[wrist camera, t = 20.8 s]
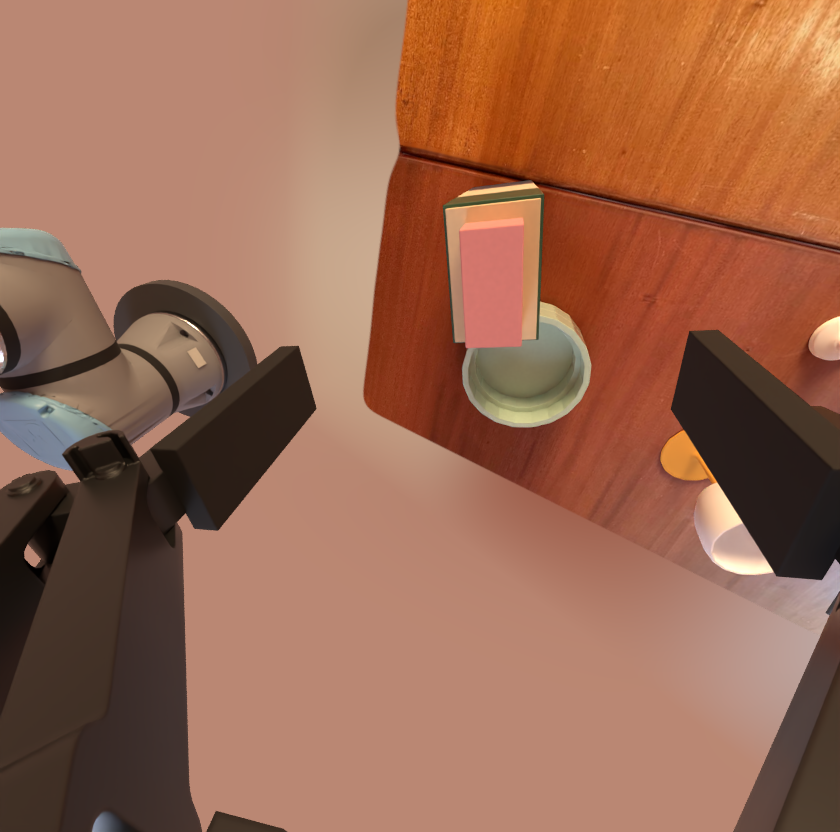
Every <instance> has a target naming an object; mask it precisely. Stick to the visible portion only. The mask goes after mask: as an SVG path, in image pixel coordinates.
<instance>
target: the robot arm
mask: <svg viewBox="0 0 840 832" xmlns="http://www.w3.org/2000/svg"><path fill="white" fill-rule="evenodd" d="M227 377H228V372H227V365H226V361H225V358H224V356H223V353H222V351H221V349H220V348H219V346H218V344H217V343H216V342H215V340H214V339H213V338H212V336H211V335H210V334H209V333H208V332H207V331H206V330H205V329H204V328H203V327H201V326H200V325H199V324H198V323H196V322H195V321H193V320H192V319H190V318H188V317H186V316H184V315H182V314H179V313H176V312H172V311H155V312H152V313H150V314H147V315H145V316H143V317H141V318H139V319H138V320H137V321H135V322H134V323H133V324H132V325H131V326H130V327H129V328H128V330H127V331H126V332H125V333H124V334H123V335H122V336H121V337H120V339H119V340H118V341H117V342H116V340H115V338H114V336H113V334H112V332H111V330H110V328H109V326H108V324H107V323H106V321H105V319H104V317H103V315H102V313H101V311H100V309H99V308H98V305H97V304H96V302H95V300H94V298H93V296H92V294H91V292H90V291H89V289H88V287H87V285H86V283H85V281H84V279H83V277H82V275H81V270H80V269H79V268H78V266H77V265H75V264H74V263H73V261H72V259H71V257H70V256H69V254H68V252H67V251H66V249H65V247H64V246H63V244H62V243H61V242H60V241H59V240H58V239H57V238H55V237H54V236H53V235H51V234H49V233H47V232H45V231H41V230H36V229H25V228H0V387H1V388H2V389H3V391H4V392H3V393H1V394H0V431H1V432H2V434H3V435H5V436H6V437H7V438H8V439H9V440H10V441H11V442H12V443H13V444H15V445H16V446H17V447H19V448H20V449H22V450H23V451H25V452H26V453H28V454H29V455H31V456H33V457H34V458H36V459H38V460H41V461H43V462H45V463H47V464H49V465H52V466H55V467H58V468H61V469H65V470H71V471H74V473H75V474H76V475H77V477H78V478H79V480H80V482H78V483H72V484H67V485H65V484H64V483H63V482H62V480H61V479H60V478H59V476H58V475H57V473H56V472H55V471H50V470H47V471H40V472H36V473H33V474H26V475H24V476H22V477H19V478H17V479H15V480H13V481H12V482H11V483H10V484H8V485H6V486H5V487H3V488H2V489H1V490H0V832H202V829H201V824H200V820H199V817H198V815H197V812H196V809H195V807H194V804H193V802H192V798H191V793H190V786H189V765H188V763H189V761H188V725H187V691H186V653H185V617H184V584H183V583H184V580H183V543H182V531H181V529H180V527H179V525H178V524H177V521H179V519H180V518H181V517H182V516H183V515H184V514H185V513H186V514H187V516H188V518H189V520H190V521H191V523H192V525H193V527H194V528H195V529H204V530H219V529H220V527H221V526H222V525H223V524H224V523H225V521H226V520H227V519H228V518H229V516H230V515H231V514H232V513H233V512H234V510H235V509H236V508H237V507H238V505H239V504H240V503H241V501H242V500H243V499H244V498H245V497H246V495H247V494H248V493H249V492H250V490H251V489H252V488H253V487H254V485H255V484H256V483H257V482H258V480H259V479H260V478H261V477H262V475H263V474H264V473H265V472H266V471H267V469H268V468H269V467H270V465H271V464H272V463H273V462H274V461H275V459H276V458H277V457H278V456H279V455H280V453H281V452H282V451H283V450H284V448H285V447H286V446H287V445H288V443H289V442H290V441H291V440H292V438H293V437H294V436H295V435H296V433H297V432H298V431H299V430H300V429H301V427H302V426H303V425H304V424H305V422H306V421H307V420H308V418H309V417H310V416H311V415H312V414H313V413H314V411H315V410H316V405H315V401H314V398H313V395H312V391H311V387H310V384H309V381H308V377H307V373H306V370H305V366H304V363H303V359H302V356H301V352H300V349H299V346H286V347H285V346H283V347H279V348H278V349H277V350H276V351H274V352H273V353H272V354H271V355H269V356H268V357H267V358H265V359H264V360H263V361H262V362H260V363H259V364H258V365H256V366H255V367H254V368H253V369H251V370H250V371H249V372H247V373H246V374H245V375H244V376H242V377H241V378H240V379H239V380H237V381H236V382H235V383H233V384H232V385H231V386H230V387H228V388H227V389H226V390H224V388H225V386H226V383H227ZM223 390H224V391H223ZM222 391H223V392H222ZM221 392H222V393H221ZM220 393H221V394H220ZM211 400H212V401H211ZM208 402H209V403H208ZM206 403H208V404H207V405H205V406H204V407H203V408H201V409H200V410H199V411H198V412H196V413H195V414H194V415H193V416H191V417H190V418H189V419H187V420H186V421H185V422H184V423H182V424H181V425H180V426H178V427H177V428H176V429H175V430H173V431H172V432H171V433H170V434H168V435H167V436H166V437H164V438H163V439H162V440H161V441H159V442H158V443H157V444H155V445H154V446H153V447H152V448H151V449H150V450H148V451H147V452H146V453H145V454H143V455H142V456H141V457H138V456H137V454H136V452H135V451H134V449H133V447H132V446H131V445H132V444H133V443H135V442H136V441H137V440H139V439H140V438H141V437H143V436H144V435H145V434H146V433H148V432H149V431H151V430H152V429H153V428H155V427H156V426H157V425H159V424H160V423H161V422H163V421H164V420H165V419H167V418H168V417H169V416H171V415H172V414H173V413H175V412H179V411H182V410H186V409H189V408H193V407H196V406H200V405H203V404H206ZM671 410H672V412H673V413H674V415H675V417H676V418H677V420H678V421H679V423H680V424H681V426H682V428H683V429H684V431H685V432H686V434H687V435H688V437H689V439H690V440H691V442H692V443H693V445H694V447H695V448H696V450H697V451H698V453H699V454H700V456H701V458H702V459H703V461H704V462H705V464H706V466H707V467H708V469H709V470H710V472H711V473H712V475H713V477H714V478H715V480H716V481H717V483H718V485H719V486H720V488H721V489H722V491H723V492H724V494H725V496H726V497H727V499H728V500H729V502H730V503H731V505H732V507H733V508H734V510H735V511H736V513H737V515H738V516H739V518H740V519H741V521H742V522H743V524H744V526H745V527H746V529H747V530H748V532H749V534H750V535H751V537H752V538H753V540H754V541H755V543H756V545H757V546H758V548H759V549H760V551H761V553H762V554H763V556H764V557H765V559H766V560H767V562H768V564H769V565H770V567H771V568H772V570H773V571H774V573H775V575H776V576H779V577H791V578H803V579H816V580H822V579H823V578H824V576H825V575H826V573H827V571H828V570H829V568H830V566H831V565H832V563H833V562H834V560H835V559H836V560H837V561H838V562H839V564H840V414H837V413H835V412H833V411H831V410H829V409H826V408H824V407H822V406H810V405H809V404H808V403H806V402H805V401H804V400H803V399H801V398H800V397H799V396H798V395H797V394H795V393H794V392H793V391H792V390H790V389H789V388H788V387H787V386H786V385H784V384H783V383H782V382H781V381H780V380H778V379H777V378H776V377H775V376H773V375H772V374H771V373H770V372H769V371H767V370H766V369H765V368H764V367H763V366H761V365H760V364H759V363H758V362H756V361H755V360H754V359H753V358H752V357H750V356H749V355H748V354H747V353H746V352H744V351H743V350H742V349H741V348H739V347H738V346H737V345H736V344H735V343H733V342H732V341H731V340H730V339H729V338H727V337H726V336H725V335H724V334H722V333H721V332H720V331H719V330H704V331H689V335H688V339H687V343H686V347H685V352H684V356H683V360H682V364H681V368H680V373H679V377H678V381H677V385H676V390H675V394H674V398H673V402H672V406H671ZM27 544H28V545H29V546H30V547H31V548H32V549H33V550H34V551H35V553H36V554H37V555H38V556H39V557H40V558H41V560H40V562H39V563H38V565H37V566H36V567H33V566H31V565H30V564H29V563H28V562H27V561H26V560H25V559H24V551H25V548H26V546H27ZM826 613H827V614H829V615H830V616H829V618H828V620H827V623H826V625H825V627H824V629H823V632H822V634H821V636H820V639H819V641H818V643H817V645H816V648H815V649H814V652H813V654H812V656H811V658H810V661H809V663H808V665H807V668H806V670H805V672H804V674H803V676H802V679H801V681H800V683H799V685H798V688H797V690H796V692H795V694H794V697H793V699H792V701H791V703H790V706H789V708H788V710H787V712H786V715H785V717H784V719H783V722H782V724H781V726H780V728H779V730H778V733H777V735H776V737H775V739H774V742H773V744H772V746H771V748H770V751H769V753H768V755H767V757H766V760H765V762H764V764H763V766H762V768H761V771H760V773H759V775H758V777H757V780H756V782H755V784H754V787H753V789H752V791H751V793H750V796H749V798H748V800H747V802H746V804H745V807H744V809H743V811H742V814H741V816H740V818H739V820H738V823H737V825H736V827H735V829H734V831H733V832H840V592H839V593H838V595H837V596H836V598H835V599H834V601H833V602H832V604H831V605H830V607H829V608H828V610H827V611H826ZM207 832H287V831H285V830H284V829H282V828H278V827H274V826H270V825H267V824H263V823H259V822H256V821H252V820H248V819H244V818H241V817H237V816H233V815H229V814H225V813H222V812H218V811H216V812H215V814H214V816H213V819H212V821H211V823H210V825H209V827H208V829H207Z"/></svg>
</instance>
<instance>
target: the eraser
mask: <svg viewBox="0 0 840 832" xmlns="http://www.w3.org/2000/svg"><path fill="white" fill-rule="evenodd" d="M459 240H460V257H461V275H462V293H463V310H464V328H465V346H466V348H493V347H521V346H522V308H523V257H524V221H523V218H514V219H504V220H494V221H484V222H474V223H465V224H464V225H463V227H462V228H461V229H460V230H459Z"/></svg>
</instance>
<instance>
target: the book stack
mask: <svg viewBox="0 0 840 832" xmlns="http://www.w3.org/2000/svg"><path fill="white" fill-rule="evenodd" d="M535 198H541V210H540V239H539V268H538V297H537V326H536V339H533V340H539V318H540V292H541V266H542V239H543V213H544V193H543V192H542V191H541V190H540V189H539V188H538V187H537V186H536V185H535V184H534V183H533V182H532V181H531V180H529V181H521V182H513V183H505V184H497V185H488V186H480V187H474V188H472V189H470V190H468V191H467V192H465V193H463V194H462V195H460V196H458V197H457V198H455V199H453V200H451V201H450V202H448V203H446V204H445V205H443V215H444V228H445V241H446V254H447V267H448V280H449V293H450V307H451V320H452V333H453V343H465V342H455V334H454V320H453V307H452V293H451V280H450V266H449V253H448V239H447V225H446V212H445V209H447V208H456V207H465V206H473V205H482V204H491V203H500V202H509V201H518V200H526V199H535Z"/></svg>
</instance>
